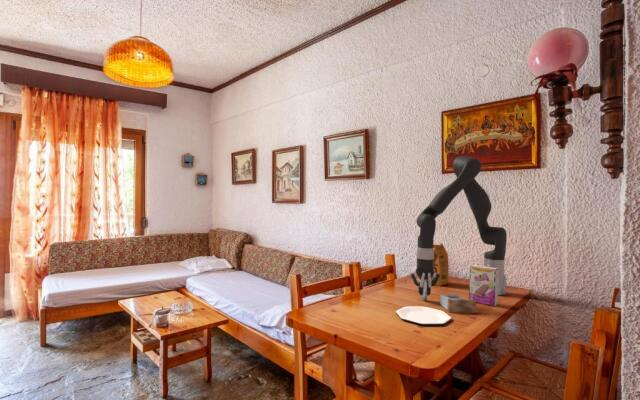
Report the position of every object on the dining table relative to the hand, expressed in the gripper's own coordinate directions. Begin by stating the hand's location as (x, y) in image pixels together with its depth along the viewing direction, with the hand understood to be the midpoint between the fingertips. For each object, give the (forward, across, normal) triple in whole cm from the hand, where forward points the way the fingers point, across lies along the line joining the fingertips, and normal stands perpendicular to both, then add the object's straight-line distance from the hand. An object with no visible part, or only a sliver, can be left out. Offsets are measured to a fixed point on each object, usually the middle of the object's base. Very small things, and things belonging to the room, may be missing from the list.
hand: (424, 294), depth 157 cm
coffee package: (+3, +18, +32) cm, 37 cm away
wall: (+3, +10, -15) cm, 19 cm away
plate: (+3, -8, -22) cm, 24 cm away
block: (+3, +9, -10) cm, 14 cm away
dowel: (+3, 0, 0) cm, 3 cm away
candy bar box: (+3, +26, -3) cm, 26 cm away
